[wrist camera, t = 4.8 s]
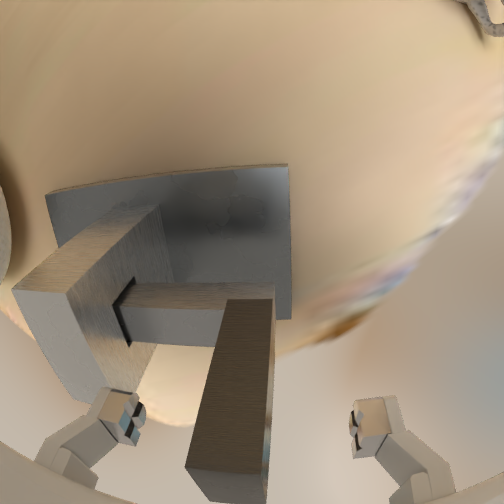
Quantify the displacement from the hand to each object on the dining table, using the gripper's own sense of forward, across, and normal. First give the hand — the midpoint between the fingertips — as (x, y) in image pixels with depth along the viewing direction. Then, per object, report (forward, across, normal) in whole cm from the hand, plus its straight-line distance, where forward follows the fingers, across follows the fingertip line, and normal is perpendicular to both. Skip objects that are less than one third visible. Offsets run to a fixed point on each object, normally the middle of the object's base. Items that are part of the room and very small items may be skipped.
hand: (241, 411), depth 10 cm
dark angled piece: (+7, +7, 0) cm, 10 cm away
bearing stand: (+14, +8, 0) cm, 16 cm away
